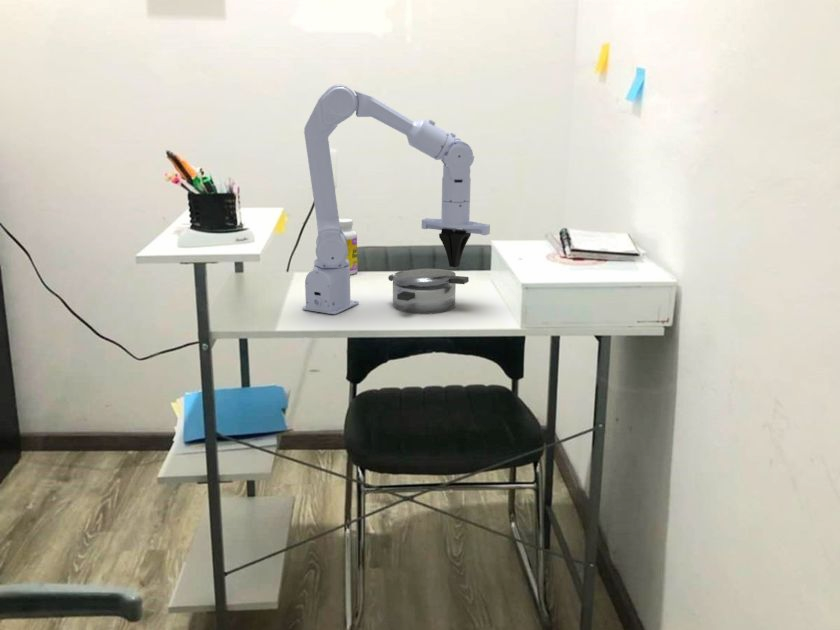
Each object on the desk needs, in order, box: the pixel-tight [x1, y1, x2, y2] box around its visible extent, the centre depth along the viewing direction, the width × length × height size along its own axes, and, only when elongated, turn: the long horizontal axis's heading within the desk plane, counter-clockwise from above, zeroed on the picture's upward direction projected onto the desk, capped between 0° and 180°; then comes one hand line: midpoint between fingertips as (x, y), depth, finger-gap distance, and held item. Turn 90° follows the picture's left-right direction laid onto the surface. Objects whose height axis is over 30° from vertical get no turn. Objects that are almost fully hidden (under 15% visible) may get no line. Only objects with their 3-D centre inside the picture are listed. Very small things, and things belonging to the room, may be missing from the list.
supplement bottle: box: [339, 218, 358, 276], centre depth 194 cm, size 7×7×13 cm
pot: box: [392, 282, 457, 315], centre depth 169 cm, size 19×13×5 cm
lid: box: [387, 268, 469, 287], centre depth 167 cm, size 13×17×1 cm
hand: (454, 266), depth 168 cm, fingers closed
